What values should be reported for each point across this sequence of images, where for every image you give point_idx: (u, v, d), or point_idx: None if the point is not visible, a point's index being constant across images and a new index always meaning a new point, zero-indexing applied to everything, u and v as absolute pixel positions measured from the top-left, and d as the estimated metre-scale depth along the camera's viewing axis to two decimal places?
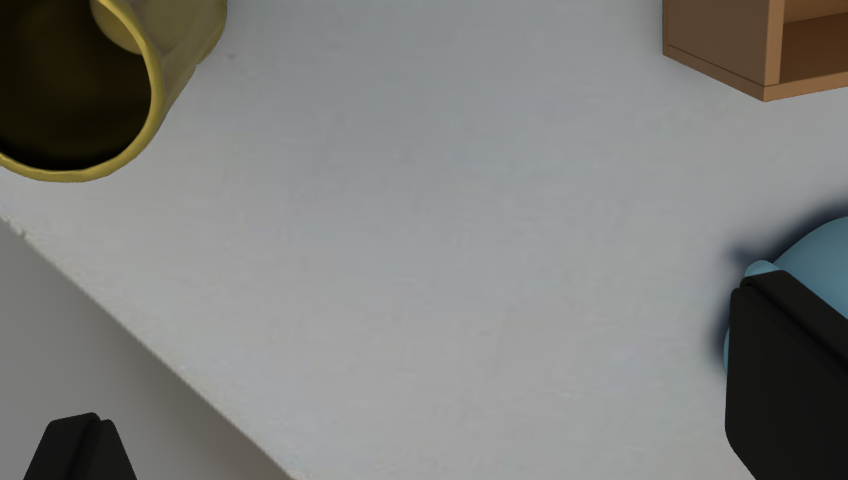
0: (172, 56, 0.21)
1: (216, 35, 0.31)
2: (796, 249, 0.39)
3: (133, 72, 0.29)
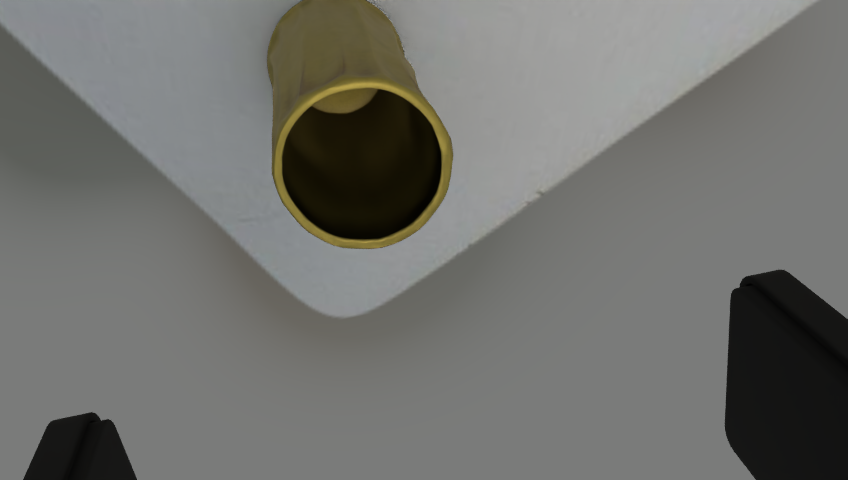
0: (351, 62, 0.23)
1: (365, 5, 0.33)
2: None
3: None
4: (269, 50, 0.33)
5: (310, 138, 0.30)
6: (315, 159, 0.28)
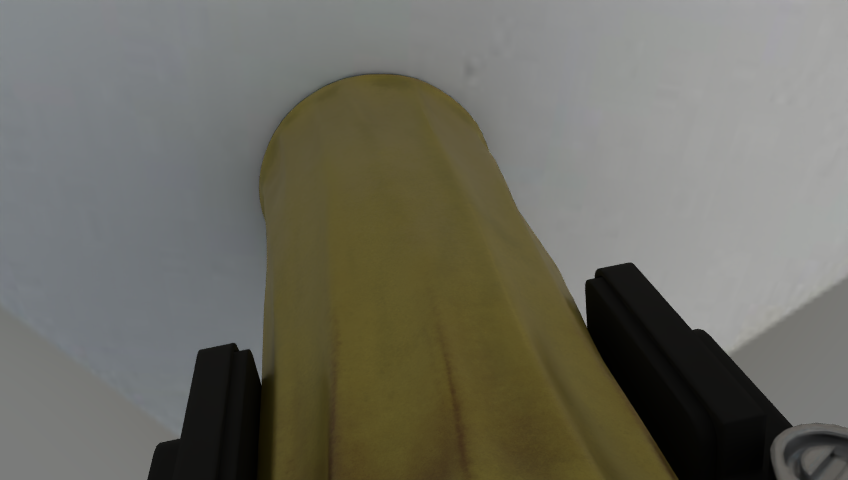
0: (468, 365, 0.08)
1: (434, 96, 0.18)
2: None
3: None
4: (262, 173, 0.19)
5: None
6: None
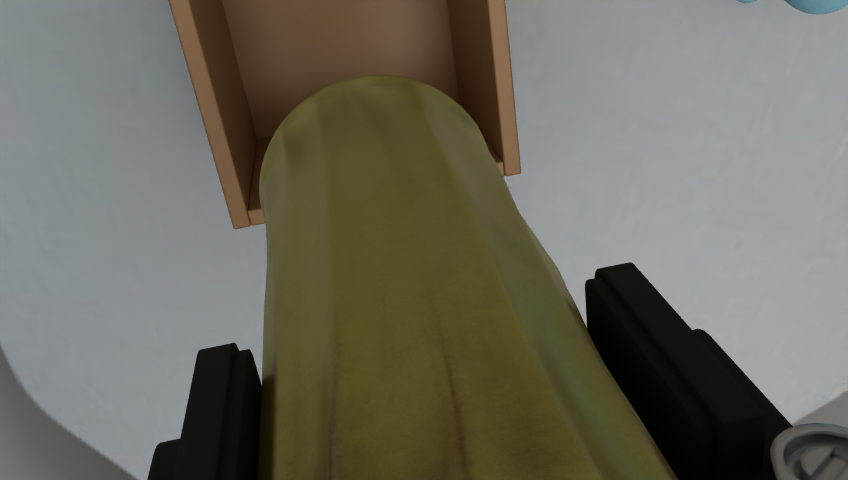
0: (469, 367, 0.08)
1: (434, 97, 0.18)
2: None
3: None
4: (261, 174, 0.19)
5: None
6: None
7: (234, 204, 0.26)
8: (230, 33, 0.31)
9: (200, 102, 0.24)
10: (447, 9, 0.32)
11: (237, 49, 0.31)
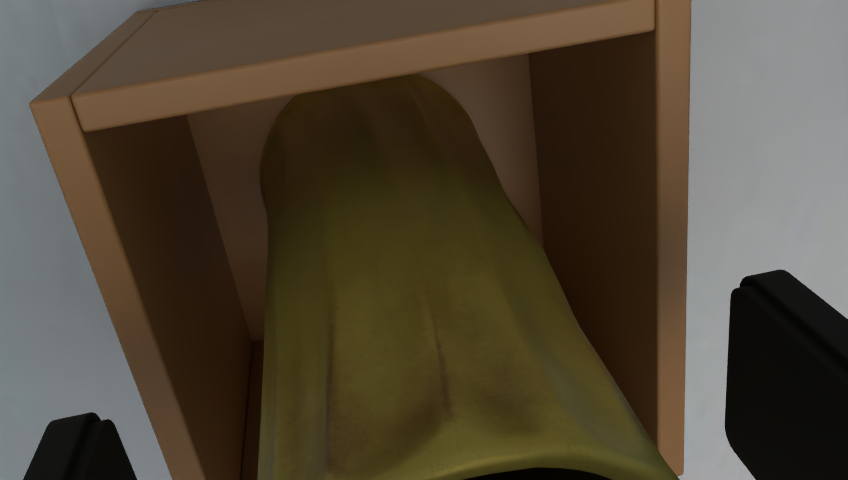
0: (453, 325, 0.09)
1: (427, 88, 0.19)
2: None
3: None
4: (262, 162, 0.20)
5: None
6: None
7: None
8: (212, 201, 0.20)
9: (149, 409, 0.14)
10: (536, 160, 0.21)
11: (222, 222, 0.21)
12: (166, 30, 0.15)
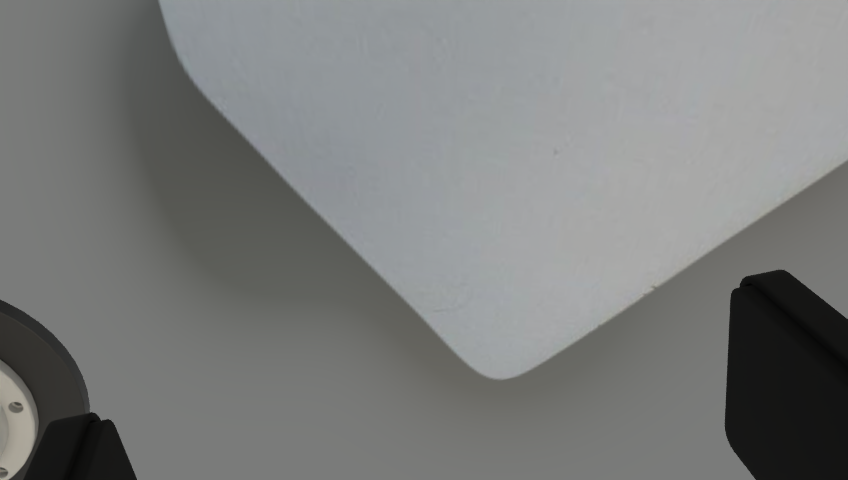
0: None
1: None
2: None
3: None
4: None
5: None
6: None
7: None
8: None
9: None
10: None
11: None
12: None
